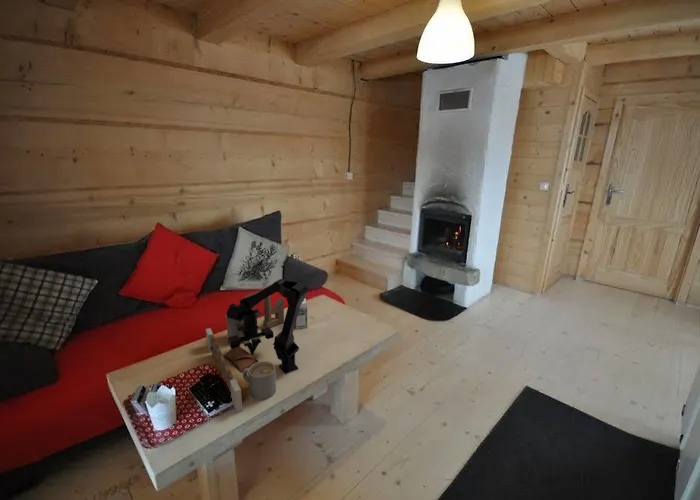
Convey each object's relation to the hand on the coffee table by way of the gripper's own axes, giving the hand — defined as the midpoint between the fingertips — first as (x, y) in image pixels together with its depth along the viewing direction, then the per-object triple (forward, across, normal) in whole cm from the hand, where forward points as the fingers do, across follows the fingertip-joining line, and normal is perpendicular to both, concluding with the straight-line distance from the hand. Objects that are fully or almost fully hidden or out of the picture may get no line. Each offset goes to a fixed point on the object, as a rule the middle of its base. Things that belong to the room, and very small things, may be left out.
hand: (252, 354), depth 154 cm
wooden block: (+2, -19, -23) cm, 30 cm away
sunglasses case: (+2, +5, 0) cm, 6 cm away
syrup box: (+2, -31, -15) cm, 34 cm away
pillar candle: (+2, +1, -18) cm, 18 cm away
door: (+1, +15, +5) cm, 16 cm away
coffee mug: (+2, +4, +22) cm, 23 cm away
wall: (+2, +14, +5) cm, 15 cm away
